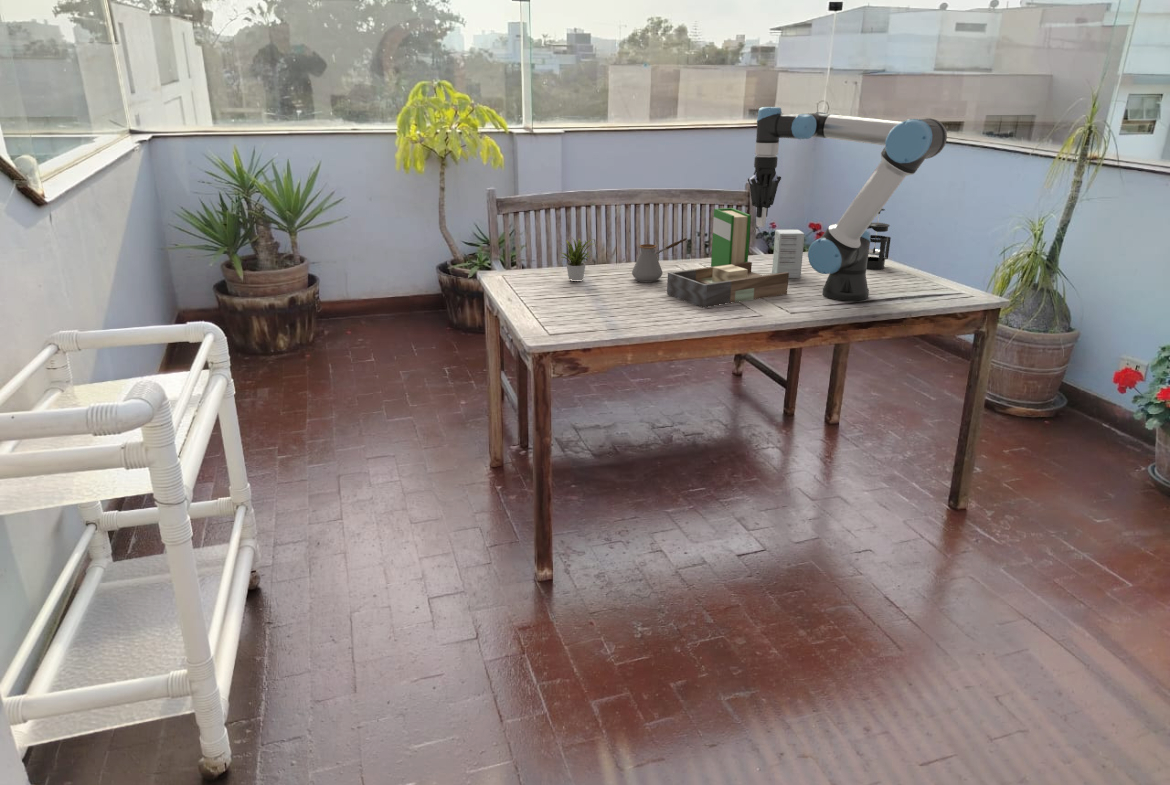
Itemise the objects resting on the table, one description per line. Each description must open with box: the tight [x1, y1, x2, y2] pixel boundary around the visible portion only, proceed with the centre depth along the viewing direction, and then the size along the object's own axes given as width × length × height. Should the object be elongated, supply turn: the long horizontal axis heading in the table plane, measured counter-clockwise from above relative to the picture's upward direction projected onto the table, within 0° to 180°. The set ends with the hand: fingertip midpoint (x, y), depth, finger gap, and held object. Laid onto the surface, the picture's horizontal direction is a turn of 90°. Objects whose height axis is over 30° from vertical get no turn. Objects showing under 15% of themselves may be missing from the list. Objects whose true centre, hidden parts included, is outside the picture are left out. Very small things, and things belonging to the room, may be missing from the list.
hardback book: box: [710, 207, 752, 267], centre depth 300 cm, size 18×7×24 cm, turn 12°
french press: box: [866, 208, 892, 271], centre depth 313 cm, size 12×9×23 cm
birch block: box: [712, 265, 748, 282], centre depth 277 cm, size 9×8×5 cm
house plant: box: [558, 236, 595, 280], centre depth 295 cm, size 14×14×16 cm
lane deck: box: [666, 261, 790, 308], centre depth 277 cm, size 21×36×8 cm, turn 119°
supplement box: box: [771, 229, 806, 279], centre depth 301 cm, size 10×9×17 cm
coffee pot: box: [631, 237, 689, 283], centre depth 297 cm, size 21×12×15 cm, turn 103°
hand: (760, 226), depth 276 cm, fingers closed
